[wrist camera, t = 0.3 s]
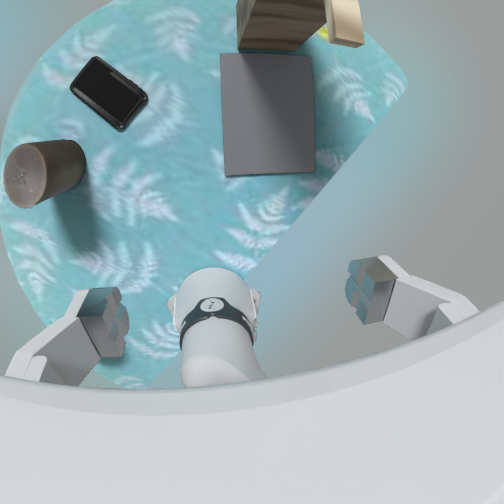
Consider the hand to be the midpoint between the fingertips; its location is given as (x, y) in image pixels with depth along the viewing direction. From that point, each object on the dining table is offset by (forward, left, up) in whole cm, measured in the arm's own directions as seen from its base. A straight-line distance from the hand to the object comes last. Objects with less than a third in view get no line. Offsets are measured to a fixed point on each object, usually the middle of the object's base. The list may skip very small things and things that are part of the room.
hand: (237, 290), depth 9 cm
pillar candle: (+5, +28, -40) cm, 49 cm away
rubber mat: (+10, -10, -40) cm, 42 cm away
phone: (+17, +18, -40) cm, 47 cm away
